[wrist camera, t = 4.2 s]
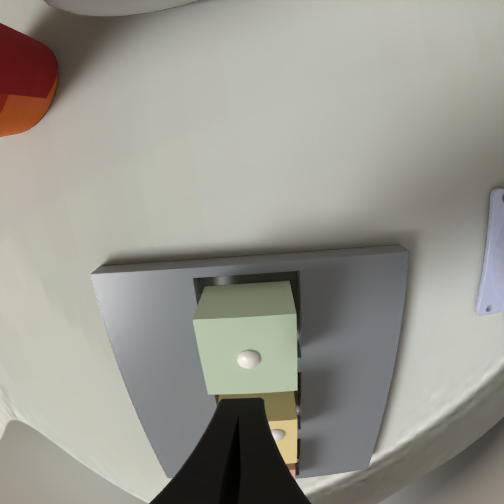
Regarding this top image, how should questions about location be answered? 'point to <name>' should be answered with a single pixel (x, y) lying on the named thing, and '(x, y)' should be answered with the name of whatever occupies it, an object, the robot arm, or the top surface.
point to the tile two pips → (278, 419)
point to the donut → (114, 6)
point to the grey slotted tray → (308, 352)
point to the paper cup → (24, 81)
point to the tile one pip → (247, 338)
